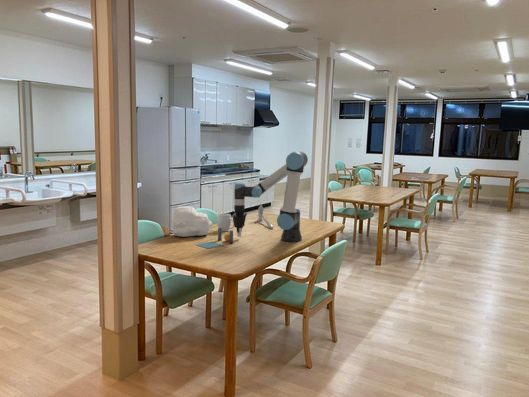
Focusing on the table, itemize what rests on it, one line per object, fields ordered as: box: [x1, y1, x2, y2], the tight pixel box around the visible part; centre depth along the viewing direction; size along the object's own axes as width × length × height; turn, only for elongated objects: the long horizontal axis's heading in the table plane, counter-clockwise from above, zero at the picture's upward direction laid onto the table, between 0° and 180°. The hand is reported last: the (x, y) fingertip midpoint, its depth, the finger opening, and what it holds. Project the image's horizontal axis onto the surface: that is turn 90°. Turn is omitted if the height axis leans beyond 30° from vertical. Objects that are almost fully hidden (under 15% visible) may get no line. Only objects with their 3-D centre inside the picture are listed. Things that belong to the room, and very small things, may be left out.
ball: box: [223, 233, 229, 242], centre depth 312 cm, size 6×6×6 cm
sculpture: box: [171, 205, 213, 238], centre depth 330 cm, size 26×22×30 cm
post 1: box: [217, 227, 223, 242], centre depth 314 cm, size 3×3×9 cm
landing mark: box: [195, 241, 224, 250], centre depth 301 cm, size 14×14×1 cm
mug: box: [216, 212, 235, 232], centre depth 346 cm, size 15×11×13 cm
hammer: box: [257, 203, 274, 230], centre depth 374 cm, size 5×16×40 cm
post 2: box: [228, 230, 234, 245], centre depth 306 cm, size 3×3×9 cm
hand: (239, 236), depth 319 cm, fingers closed
